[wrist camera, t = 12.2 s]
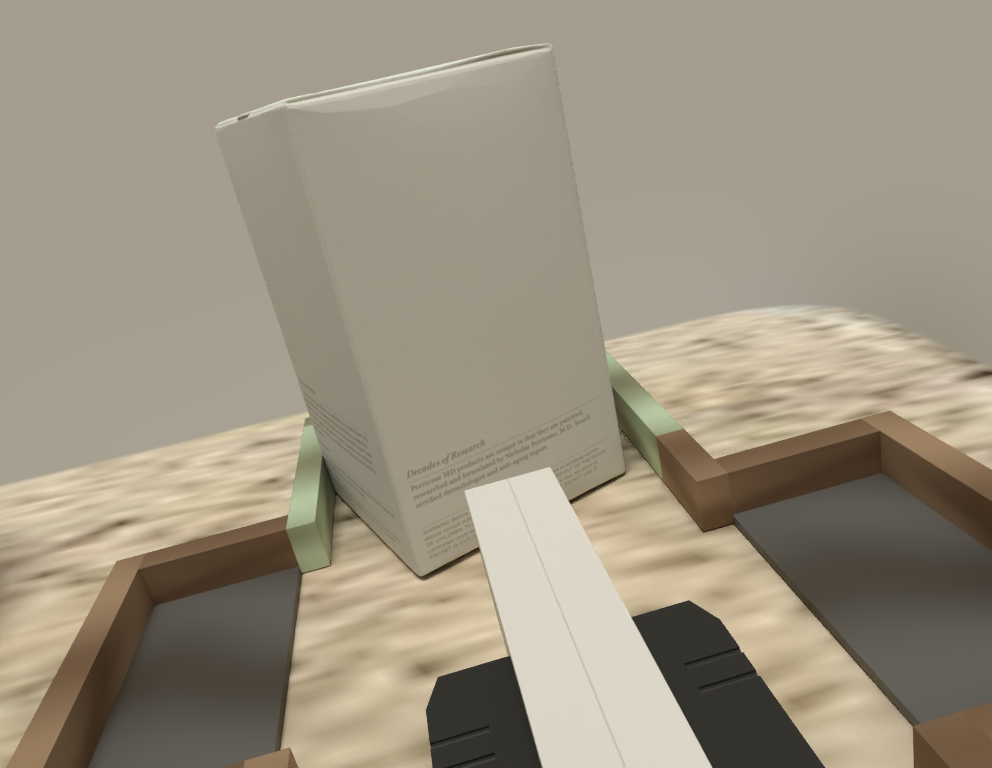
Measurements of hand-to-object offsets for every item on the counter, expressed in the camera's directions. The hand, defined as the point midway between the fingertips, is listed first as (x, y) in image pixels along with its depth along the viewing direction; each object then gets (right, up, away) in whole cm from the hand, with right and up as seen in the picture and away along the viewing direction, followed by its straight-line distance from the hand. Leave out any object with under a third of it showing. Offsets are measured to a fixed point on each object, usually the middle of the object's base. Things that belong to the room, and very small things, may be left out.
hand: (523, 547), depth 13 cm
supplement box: (-1, -1, +17) cm, 17 cm away
